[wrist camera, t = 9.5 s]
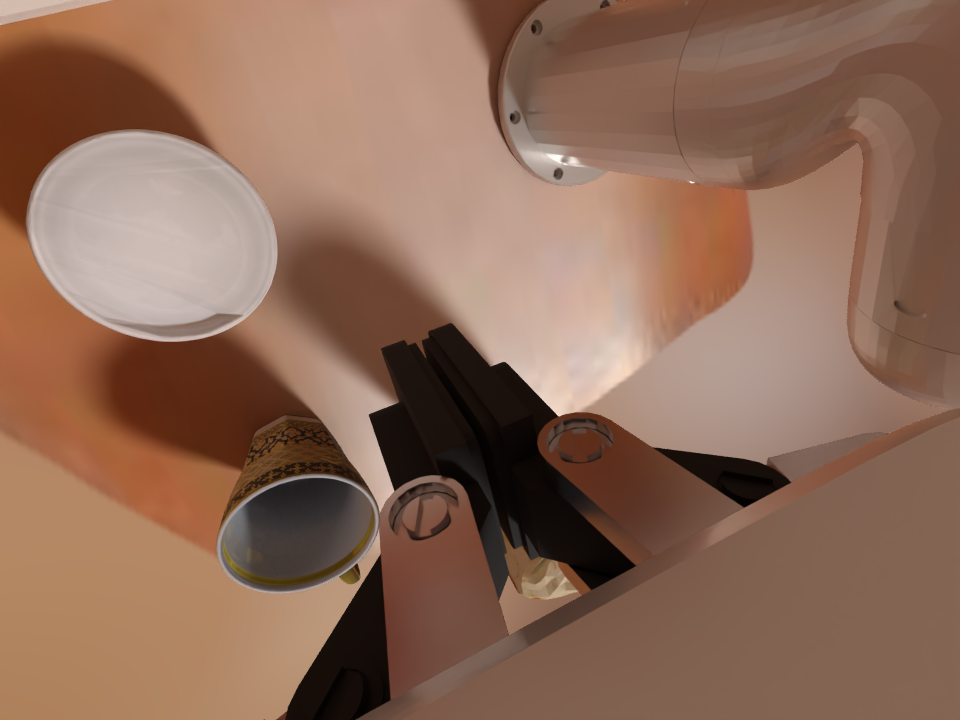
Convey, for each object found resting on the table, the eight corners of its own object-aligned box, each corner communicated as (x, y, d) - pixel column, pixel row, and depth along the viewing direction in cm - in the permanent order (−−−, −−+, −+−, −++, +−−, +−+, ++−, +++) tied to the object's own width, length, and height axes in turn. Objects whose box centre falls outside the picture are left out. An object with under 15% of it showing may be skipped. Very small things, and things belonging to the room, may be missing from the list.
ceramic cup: (194, 439, 35) (176, 536, 27) (316, 373, 37) (334, 446, 29) (291, 535, 42) (300, 635, 34) (389, 476, 44) (420, 558, 36)
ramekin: (99, 323, 30) (73, 358, 25) (24, 126, 25) (-24, 128, 20) (288, 301, 34) (293, 328, 29) (256, 128, 29) (257, 130, 24)
